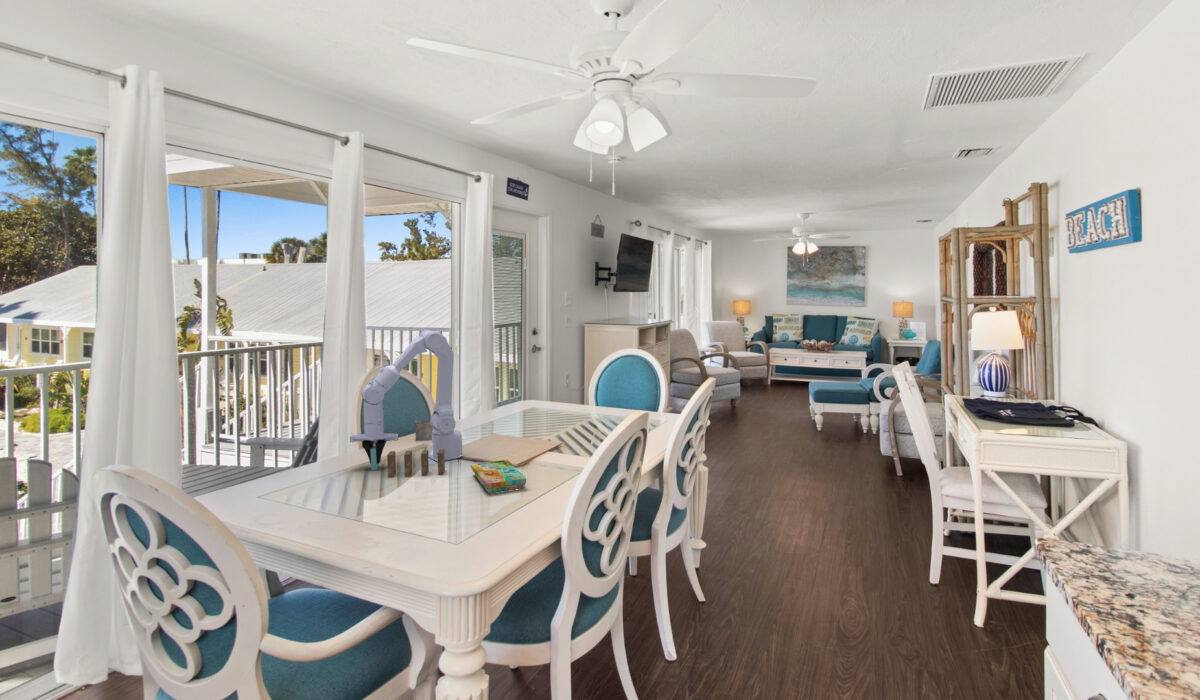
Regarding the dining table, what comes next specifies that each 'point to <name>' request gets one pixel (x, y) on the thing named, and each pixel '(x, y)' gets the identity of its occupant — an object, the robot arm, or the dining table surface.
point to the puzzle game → (499, 476)
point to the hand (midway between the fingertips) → (375, 462)
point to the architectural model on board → (423, 430)
